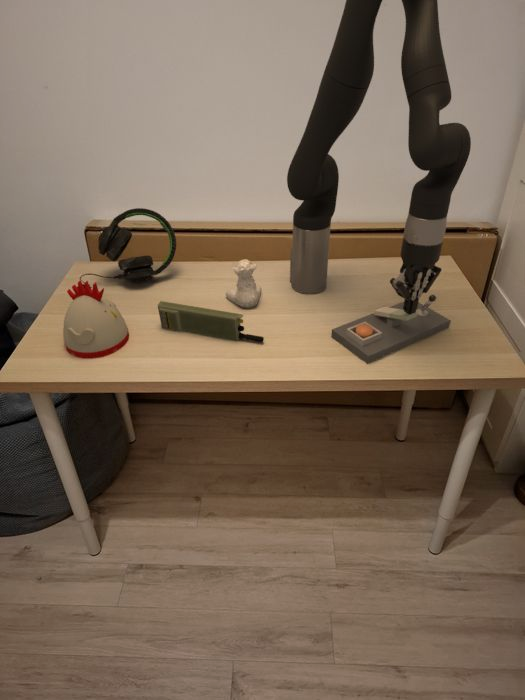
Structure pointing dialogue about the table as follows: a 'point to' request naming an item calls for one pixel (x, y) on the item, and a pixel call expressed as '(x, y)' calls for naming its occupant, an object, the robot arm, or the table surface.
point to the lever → (428, 302)
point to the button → (364, 330)
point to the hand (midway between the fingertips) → (409, 312)
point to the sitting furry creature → (245, 285)
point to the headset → (117, 240)
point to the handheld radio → (203, 322)
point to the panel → (389, 333)
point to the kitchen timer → (93, 324)
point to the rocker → (394, 313)
